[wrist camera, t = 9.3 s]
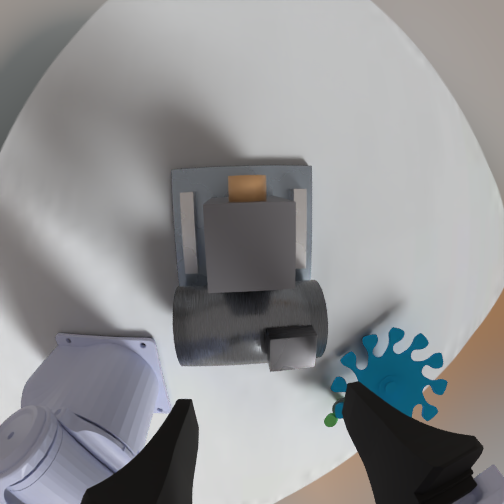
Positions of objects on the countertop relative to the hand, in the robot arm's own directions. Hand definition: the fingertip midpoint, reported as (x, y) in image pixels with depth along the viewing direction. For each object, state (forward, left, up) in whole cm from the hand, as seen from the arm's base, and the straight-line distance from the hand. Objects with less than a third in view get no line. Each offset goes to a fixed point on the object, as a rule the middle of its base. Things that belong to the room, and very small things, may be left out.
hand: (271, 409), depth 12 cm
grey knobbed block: (-1, +7, -9) cm, 11 cm away
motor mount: (-1, +5, -9) cm, 11 cm away
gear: (+10, -6, -10) cm, 15 cm away
